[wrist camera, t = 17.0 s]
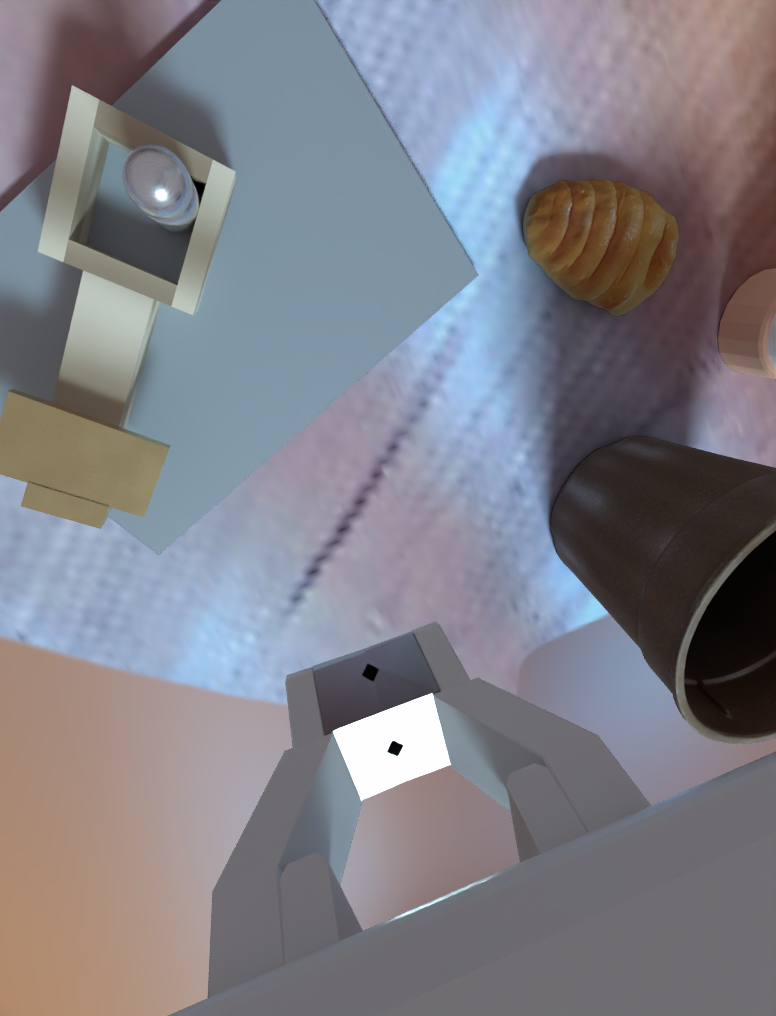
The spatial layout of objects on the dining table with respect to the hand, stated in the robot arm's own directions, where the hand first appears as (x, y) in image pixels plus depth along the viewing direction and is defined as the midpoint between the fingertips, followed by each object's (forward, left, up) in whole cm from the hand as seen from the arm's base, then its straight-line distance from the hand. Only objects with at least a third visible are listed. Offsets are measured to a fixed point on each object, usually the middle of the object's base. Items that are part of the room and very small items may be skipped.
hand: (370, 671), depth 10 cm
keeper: (+9, -5, -24) cm, 26 cm away
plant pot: (-14, +23, -24) cm, 37 cm away
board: (-1, -7, -24) cm, 25 cm away
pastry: (-21, +5, -25) cm, 33 cm away
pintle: (-3, -11, -24) cm, 27 cm away
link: (+3, -9, -24) cm, 25 cm away
